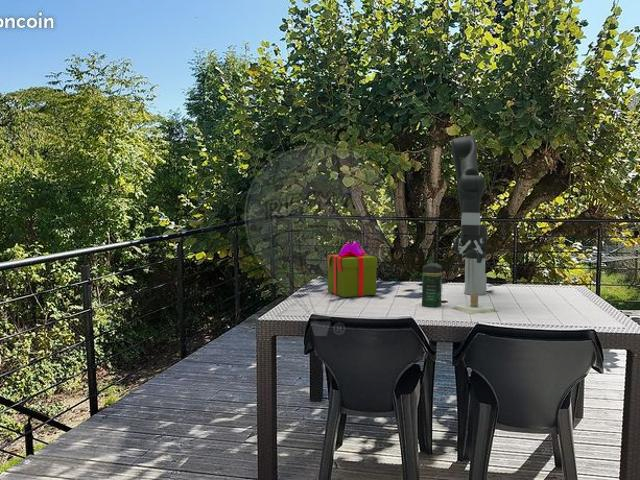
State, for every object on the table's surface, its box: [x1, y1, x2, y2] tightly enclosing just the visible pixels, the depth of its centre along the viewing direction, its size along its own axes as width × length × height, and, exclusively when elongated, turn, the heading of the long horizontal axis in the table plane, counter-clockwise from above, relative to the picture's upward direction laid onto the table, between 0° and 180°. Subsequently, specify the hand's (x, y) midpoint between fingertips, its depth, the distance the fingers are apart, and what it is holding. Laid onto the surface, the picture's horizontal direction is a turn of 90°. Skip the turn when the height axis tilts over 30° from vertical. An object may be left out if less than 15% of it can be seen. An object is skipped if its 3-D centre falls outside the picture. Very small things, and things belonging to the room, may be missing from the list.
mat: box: [450, 306, 500, 315], centre depth 233 cm, size 14×14×1 cm
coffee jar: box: [421, 262, 443, 309], centre depth 242 cm, size 10×8×19 cm
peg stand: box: [454, 294, 495, 313], centre depth 233 cm, size 11×11×6 cm
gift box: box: [326, 241, 378, 298], centre depth 273 cm, size 21×21×25 cm
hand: (469, 263), depth 237 cm, fingers open, 8 cm apart
